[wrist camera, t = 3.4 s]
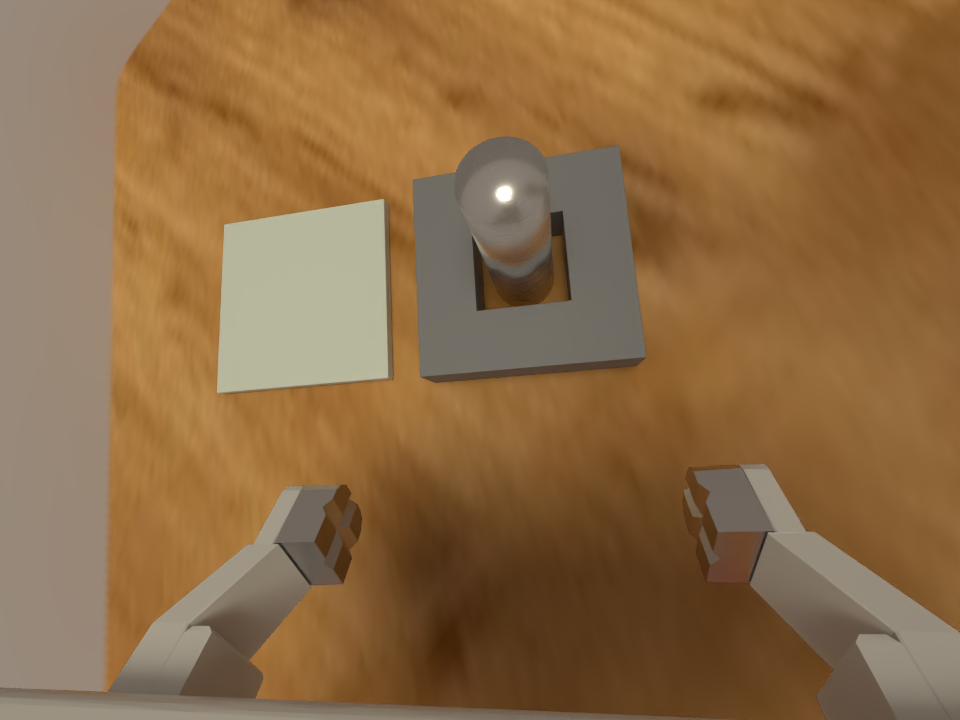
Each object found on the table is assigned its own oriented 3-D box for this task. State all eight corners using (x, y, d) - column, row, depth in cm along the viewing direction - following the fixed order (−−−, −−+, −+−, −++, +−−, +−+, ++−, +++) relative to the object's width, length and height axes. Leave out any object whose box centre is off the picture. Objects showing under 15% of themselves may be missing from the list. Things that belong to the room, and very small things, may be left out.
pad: (232, 229, 32) (224, 224, 31) (388, 204, 30) (383, 199, 29) (226, 393, 30) (217, 392, 29) (393, 379, 27) (388, 377, 27)
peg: (510, 243, 28) (479, 125, 17) (563, 264, 27) (564, 153, 16) (485, 294, 27) (438, 205, 17) (537, 316, 26) (522, 238, 16)
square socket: (427, 205, 29) (412, 179, 26) (612, 176, 27) (618, 145, 24) (435, 382, 27) (420, 376, 24) (636, 365, 25) (646, 357, 22)
